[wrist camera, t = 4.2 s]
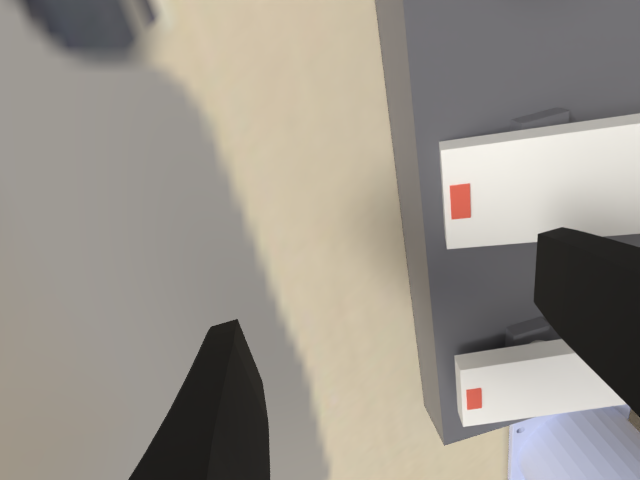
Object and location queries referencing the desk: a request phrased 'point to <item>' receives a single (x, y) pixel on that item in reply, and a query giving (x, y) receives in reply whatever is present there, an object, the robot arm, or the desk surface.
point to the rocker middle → (542, 182)
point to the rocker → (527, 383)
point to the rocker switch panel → (484, 119)
